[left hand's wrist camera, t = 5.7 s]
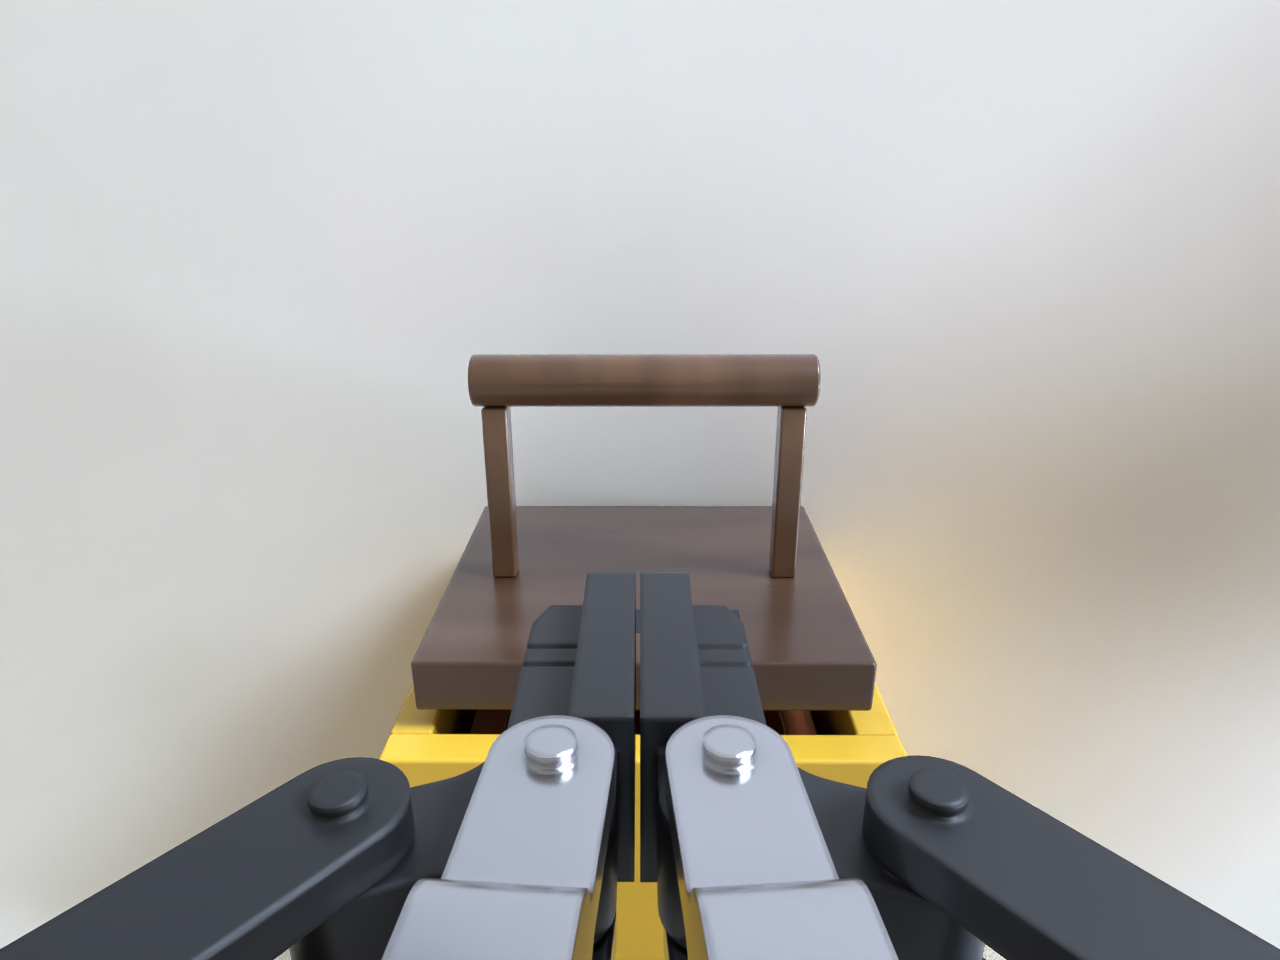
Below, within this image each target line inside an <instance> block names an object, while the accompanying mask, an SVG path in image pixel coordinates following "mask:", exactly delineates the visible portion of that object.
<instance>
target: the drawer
mask: <svg viewBox="0 0 1280 960" xmlns="http://www.w3.org/2000/svg"><path fill="white" fill-rule="evenodd" d="M468 389H469V396H470V400H471V402H472V404H473V405H474V406H484V407H483V409H482V411H481V412H482V426H483V440H484V455H485V469H486V483H487V498H488V506H487V507H485V508H484V510H483V513H482V515H481V517H480V519H479V521H478V523H477V525H476V527H475V530H474V532H473V534H472V536H471V538H470V540H469V542H468V544H467V546H466V549H465V551H464V553H463V555H462V557H461V559H460V561H459V563H458V566H457V568H456V570H455V572H454V574H453V576H452V578H451V580H450V583H449V585H448V587H447V589H446V591H445V593H444V595H443V597H442V599H441V602H440V604H439V606H438V608H437V610H436V612H435V614H434V616H433V619H432V621H431V623H430V625H429V627H428V629H427V631H426V633H425V635H424V638H423V640H422V642H421V644H420V646H419V648H418V650H417V652H416V655H415V657H414V659H413V661H412V663H411V667H412V676H413V685H414V694H415V703H416V708H417V709H419V710H477V711H476V715H475V718H474V721H473V724H472V728H471V731H470V734H502V733H503V732H504V731H506V730H507V728H508V723H509V719H510V715H511V711H512V707H513V702H514V698H515V694H516V690H517V685H518V681H519V677H520V673H521V669H522V667H523V660H524V656H525V652H526V649H527V643H528V639H529V635H530V631H531V626H532V623H533V622H534V621H535V620H536V619H537V618H538V617H539V616H540V615H541V614H542V613H543V612H544V611H545V610H546V609H547V608H548V607H549V606H550V605H583V599H584V592H585V584H586V577H587V572H636V735H640V572H688V573H689V579H690V587H691V596H692V604H693V605H725V606H726V607H727V608H728V609H729V610H730V611H731V612H732V613H733V614H734V615H735V616H736V617H737V618H738V619H739V620H740V621H741V622H742V623H743V624H744V628H745V633H746V637H747V642H748V649H749V651H750V655H751V659H752V667H753V668H754V673H755V677H756V681H757V686H758V690H759V695H760V699H761V703H762V708H763V712H764V717H765V721H766V725H767V726H768V727H770V728H771V729H773V730H774V731H776V732H777V733H778V734H779V735H818V734H817V730H816V727H815V724H814V721H813V717H812V714H811V711H869V710H871V708H872V703H873V694H874V685H875V676H876V668H877V664H876V662H875V660H874V658H873V655H872V653H871V651H870V649H869V647H868V645H867V643H866V640H865V638H864V636H863V634H862V632H861V630H860V628H859V625H858V623H857V621H856V619H855V617H854V615H853V612H852V610H851V608H850V606H849V604H848V602H847V600H846V597H845V595H844V593H843V591H842V589H841V587H840V585H839V582H838V580H837V578H836V576H835V574H834V572H833V570H832V567H831V565H830V563H829V561H828V559H827V557H826V554H825V552H824V550H823V548H822V546H821V544H820V542H819V539H818V537H817V535H816V533H815V531H814V529H813V527H812V524H811V522H810V520H809V518H808V516H807V514H806V512H805V509H804V507H800V501H801V487H802V472H803V458H804V444H805V430H806V415H807V410H806V408H805V407H804V406H814V405H816V403H817V400H818V397H819V391H820V365H819V361H818V358H817V356H816V355H473V356H471V359H470V362H469V367H468ZM510 406H778V416H777V434H776V451H775V468H774V486H773V503H772V507H719V506H516V502H515V485H514V467H513V450H512V432H511V415H510Z"/></svg>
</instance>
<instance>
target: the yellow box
mask: <svg viewBox="0 0 1280 960" xmlns="http://www.w3.org/2000/svg"><path fill="white" fill-rule="evenodd" d="M476 711H477V710H419V709H417V708H416V703H415V694H414V685H413V684H412V686H411V688H410V690H409V693H408V695H407V697H406V699H405V701H404V704H403V706H402V708H401V710H400V713H399V715H398V717H397V719H396V721H395V724H394V726H393V728H392V730H391V735H390V736H389V737H388V740H387V742H386V744H385V746H384V748H383V751H382V753H381V755H380V757H379V759H380V760H383V761H386V762H389V763H391V764H393V765H395V766H397V767H398V768H399V769H400V770H401V771H402V772H403V773H404V774H405V776H406V777H407V779H408V782H409V784H410V787H415V786H419V785H423V784H428V783H432V782H437V781H441V780H445V779H448V778H452V777H455V776H458V775H460V774H463V773H465V772H467V771H469V770H471V769H473V768H475V767H477V766H478V765H480V764H481V763H483V762H484V761H485V760H486V757H487V755H488V752H489V750H490V748H491V746H492V744H493V743H494V741H495V740H496V739H497V738H498V737H499V736H500V735H501V734H470V731H471V728H472V724H473V721H474V718H475V715H476ZM811 714H812V717H813V721H814V724H815V727H816V730H817V734H818V735H780V736H781V737H782V738H783V739H784V740H785V741H786V743H787V744H788V746H789V748H790V750H791V752H792V755H793V757H794V760H795V763H796V765H797V767H798V768H800V769H802V770H804V771H806V772H808V773H811V774H813V775H816V776H818V777H821V778H825V779H828V780H832V781H836V782H840V783H845V784H849V785H853V786H858V787H862V788H866V789H867V782H868V780H869V777H870V775H871V774H872V772H873V771H874V770H875V769H876V768H877V767H878V766H879V765H881V764H883V763H884V762H886V761H888V760H891V759H895V758H898V757H904V756H907V754H906V752H905V750H904V747H903V745H902V743H901V741H900V738H899V737H898V736H897V735H898V734H897V731H896V729H895V727H894V725H893V722H892V720H891V718H890V716H889V713H888V711H887V709H886V707H885V704H884V702H883V700H882V698H881V695H880V693H879V691H878V689H877V686H876V684H875V685H874V694H873V703H872V708H871V710H869V711H811ZM616 914H617V948H616V956H615V960H665V956H664V948H663V925H662V923H661V920H660V917H659V913H658V898H657V882H640V735H636V754H635V882H617V905H616Z"/></svg>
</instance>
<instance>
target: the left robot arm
mask: <svg viewBox="0 0 1280 960" xmlns="http://www.w3.org/2000/svg"><path fill="white" fill-rule="evenodd" d="M635 754H636V572H587V577H586V584H585V592H584V599H583V605H550V606H549V607H548V608H547V609H546V610H545V611H544V612H543V613H542V614H541V615H540V616H539V617H538V618H537V619H536V620H535V621H534V622H533V623H532V626H531V631H530V635H529V639H528V643H527V649H526V652H525V656H524V660H523V667H522V669H521V673H520V677H519V681H518V685H517V690H516V694H515V698H514V702H513V707H512V711H511V715H510V719H509V723H508V728H507V730H506V731H504V732H503V733H502V734H501V735H500V736H499V737H498V738H497V739H496V740H495V741H494V743H493V744H492V746H491V748H490V750H489V752H488V755H487V757H486V760H485V761H484V762H483V763H481V764H480V765H478V766H477V767H475V768H473V769H471V770H469V771H467V772H465V773H463V774H460V775H458V776H455V777H452V778H448V779H445V780H441V781H437V782H432V783H428V784H423V785H419V786H415V787H410V784H409V782H408V779H407V777H406V776H405V774H404V773H403V772H402V771H401V770H400V769H399V768H398V767H397V766H395V765H393V764H391V763H389V762H386V761H383V760H380V759H374V758H362V757H357V758H346V759H340V760H335V761H332V762H328V763H325V764H322V765H319V766H317V767H314V768H312V769H310V770H308V771H306V772H304V773H302V774H300V775H299V776H297V777H295V778H294V779H292V780H290V781H288V782H287V783H285V784H283V785H282V786H280V787H278V788H276V789H275V790H273V791H271V792H270V793H268V794H266V795H264V796H263V797H261V798H259V799H258V800H256V801H254V802H252V803H251V804H249V805H247V806H245V807H244V808H242V809H240V810H239V811H237V812H235V813H233V814H232V815H230V816H228V817H227V818H225V819H223V820H221V821H220V822H218V823H216V824H215V825H213V826H211V827H209V828H208V829H206V830H204V831H203V832H201V833H199V834H197V835H196V836H194V837H192V838H191V839H189V840H187V841H185V842H184V843H182V844H180V845H179V846H177V847H175V848H173V849H172V850H170V851H168V852H167V853H165V854H163V855H161V856H160V857H158V858H156V859H155V860H153V861H151V862H149V863H148V864H146V865H144V866H143V867H141V868H139V869H137V870H136V871H134V872H132V873H130V874H129V875H127V876H125V877H124V878H122V879H120V880H118V881H117V882H115V883H113V884H112V885H110V886H108V887H106V888H105V889H103V890H101V891H100V892H98V893H96V894H94V895H93V896H91V897H89V898H88V899H86V900H84V901H82V902H81V903H79V904H77V905H76V906H74V907H72V908H70V909H69V910H67V911H65V912H64V913H62V914H60V915H58V916H57V917H55V918H53V919H52V920H50V921H48V922H46V923H45V924H43V925H41V926H40V927H38V928H36V929H34V930H33V931H31V932H29V933H27V934H26V935H24V936H22V937H21V938H19V939H17V940H15V941H14V942H12V943H10V944H9V945H7V946H5V947H3V948H2V949H0V960H274V959H275V958H276V957H278V956H279V955H280V954H282V953H283V952H284V951H286V950H287V949H288V948H289V949H290V954H291V959H292V960H615V956H616V948H617V914H616V905H617V882H635ZM640 882H657V898H658V913H659V917H660V920H661V923H662V925H663V948H664V956H665V960H986V959H984V958H983V952H984V947H985V944H986V945H988V946H989V947H990V948H992V949H993V950H994V951H996V952H997V953H998V954H1000V955H1001V956H1002V957H1004V958H1005V959H1006V960H1280V949H1278V948H1276V947H1275V946H1273V945H1271V944H1270V943H1268V942H1266V941H1264V940H1263V939H1261V938H1259V937H1258V936H1256V935H1254V934H1252V933H1251V932H1249V931H1247V930H1246V929H1244V928H1242V927H1240V926H1239V925H1237V924H1235V923H1234V922H1232V921H1230V920H1228V919H1227V918H1225V917H1223V916H1222V915H1220V914H1218V913H1216V912H1215V911H1213V910H1211V909H1210V908H1208V907H1206V906H1204V905H1203V904H1201V903H1199V902H1198V901H1196V900H1194V899H1192V898H1191V897H1189V896H1187V895H1186V894H1184V893H1182V892H1180V891H1179V890H1177V889H1175V888H1174V887H1172V886H1170V885H1168V884H1167V883H1165V882H1163V881H1161V880H1160V879H1158V878H1156V877H1155V876H1153V875H1151V874H1149V873H1148V872H1146V871H1144V870H1143V869H1141V868H1139V867H1137V866H1136V865H1134V864H1132V863H1131V862H1129V861H1127V860H1125V859H1124V858H1122V857H1120V856H1119V855H1117V854H1115V853H1113V852H1112V851H1110V850H1108V849H1107V848H1105V847H1103V846H1101V845H1100V844H1098V843H1096V842H1095V841H1093V840H1091V839H1089V838H1088V837H1086V836H1084V835H1083V834H1081V833H1079V832H1077V831H1076V830H1074V829H1072V828H1071V827H1069V826H1067V825H1065V824H1064V823H1062V822H1060V821H1059V820H1057V819H1055V818H1053V817H1052V816H1050V815H1048V814H1046V813H1045V812H1043V811H1041V810H1040V809H1038V808H1036V807H1034V806H1033V805H1031V804H1029V803H1028V802H1026V801H1024V800H1022V799H1021V798H1019V797H1017V796H1016V795H1014V794H1012V793H1010V792H1009V791H1007V790H1005V789H1004V788H1002V787H1000V786H998V785H997V784H995V783H993V782H992V781H990V780H988V779H986V778H985V777H983V776H981V775H980V774H978V773H976V772H974V771H972V770H970V769H968V768H967V767H965V766H962V765H960V764H957V763H955V762H952V761H948V760H945V759H941V758H935V757H930V756H904V757H898V758H895V759H891V760H888V761H886V762H884V763H883V764H881V765H879V766H878V767H877V768H876V769H875V770H874V771H873V772H872V774H871V775H870V777H869V780H868V782H867V789H866V788H862V787H858V786H853V785H849V784H845V783H840V782H836V781H832V780H828V779H825V778H821V777H818V776H816V775H813V774H811V773H808V772H806V771H804V770H802V769H800V768H798V767H797V765H796V763H795V760H794V757H793V755H792V752H791V750H790V748H789V746H788V744H787V743H786V741H785V740H784V739H783V738H782V737H781V736H780V735H779V734H778V733H777V732H776V731H774V730H773V729H771V728H770V727H768V726H767V725H766V721H765V717H764V712H763V708H762V703H761V699H760V695H759V690H758V686H757V681H756V677H755V673H754V668H753V667H752V659H751V655H750V651H749V649H748V642H747V637H746V633H745V628H744V624H743V623H742V622H741V621H740V620H739V619H738V618H737V617H736V616H735V615H734V614H733V613H732V612H731V611H730V610H729V609H728V608H727V607H726V606H725V605H693V604H692V596H691V587H690V579H689V573H688V572H640Z"/></svg>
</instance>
